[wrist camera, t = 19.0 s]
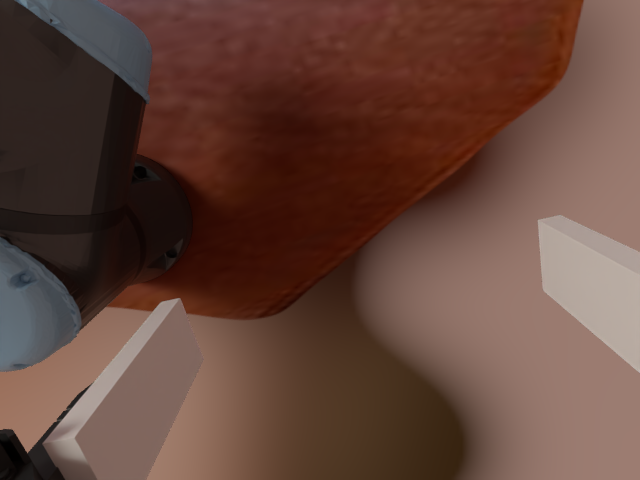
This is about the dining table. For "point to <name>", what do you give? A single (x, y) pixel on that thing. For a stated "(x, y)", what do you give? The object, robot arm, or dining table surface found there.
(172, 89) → the dining table surface
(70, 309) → the robot arm
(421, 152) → the dining table surface
